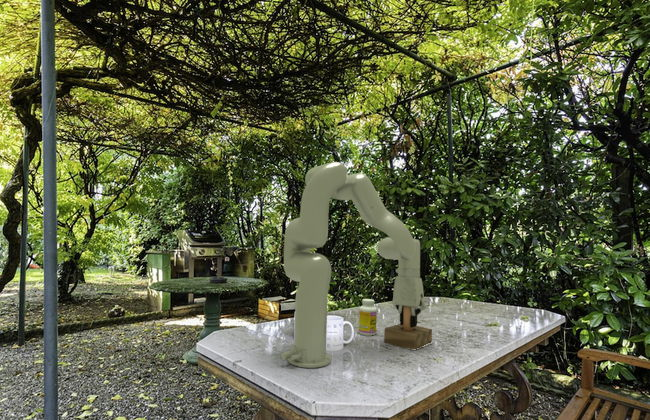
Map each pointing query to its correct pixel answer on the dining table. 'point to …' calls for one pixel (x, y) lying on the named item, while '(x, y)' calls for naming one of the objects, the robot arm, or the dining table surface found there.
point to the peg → (407, 318)
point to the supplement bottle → (367, 318)
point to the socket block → (407, 336)
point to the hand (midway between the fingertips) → (408, 325)
